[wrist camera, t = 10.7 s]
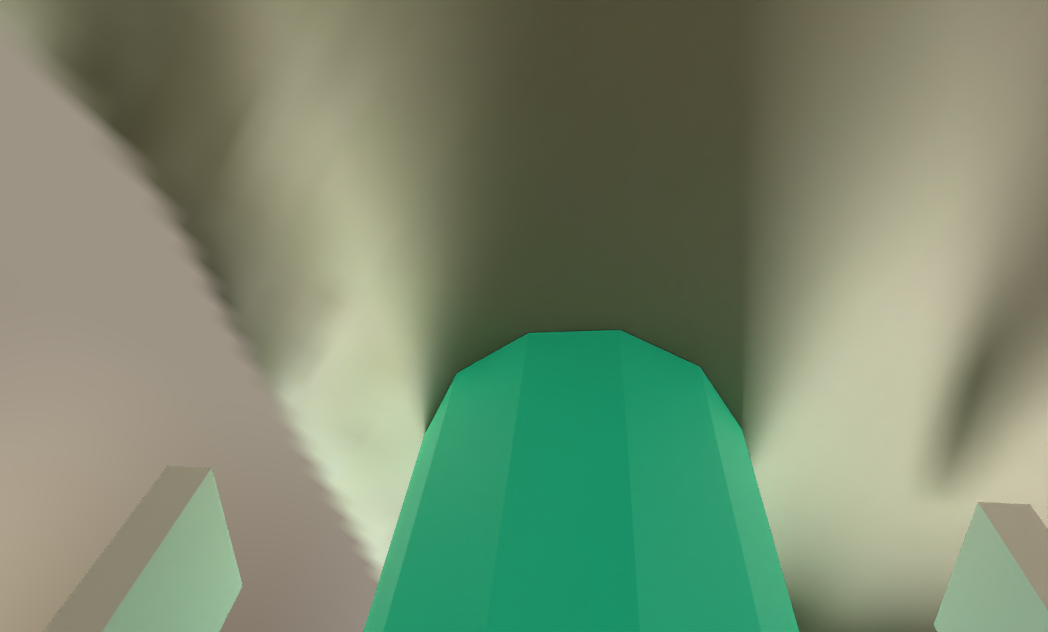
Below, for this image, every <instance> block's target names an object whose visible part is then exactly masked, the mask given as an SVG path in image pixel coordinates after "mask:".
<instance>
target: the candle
mask: <svg viewBox="0 0 1048 632" xmlns="http://www.w3.org/2000/svg"><path fill="white" fill-rule="evenodd" d="M363 632H799V629H798V626H797V622H796V619H795V615H794V612H793V608H792V604H791V601H790V597H789V594H788V590H787V587H786V583H785V580H784V576H783V573H782V569H781V566H780V562H779V559H778V555H777V551H776V548H775V544H774V541H773V537H772V534H771V530H770V527H769V523H768V520H767V516H766V513H765V509H764V506H763V502H762V498H761V495H760V491H759V488H758V484H757V481H756V477H755V474H754V470H753V467H752V463H751V460H750V456H749V453H748V449H747V445H746V442H745V438H744V435H743V431H742V428H741V427H740V426H739V424H738V423H737V421H736V420H735V418H734V417H733V415H732V414H731V412H730V411H729V409H728V408H727V406H726V405H725V403H724V402H723V400H722V399H721V397H720V396H719V394H718V393H717V391H716V390H715V388H714V387H713V385H712V384H711V382H710V381H709V379H708V378H707V377H706V375H705V374H704V372H703V371H702V369H701V368H700V366H697V365H695V364H693V363H691V362H689V361H686V360H684V359H682V358H680V357H678V356H676V355H673V354H671V353H669V352H667V351H665V350H663V349H660V348H658V347H656V346H654V345H652V344H650V343H647V342H645V341H643V340H641V339H639V338H637V337H634V336H632V335H630V334H628V333H626V332H624V331H621V330H601V331H569V332H537V333H527V334H525V335H524V336H522V337H520V338H518V339H517V340H515V341H513V342H511V343H509V344H508V345H506V346H504V347H502V348H500V349H499V350H497V351H495V352H493V353H492V354H490V355H488V356H486V357H484V358H483V359H481V360H479V361H477V362H475V363H474V364H472V365H470V366H468V367H467V368H465V369H463V370H461V371H459V372H458V373H456V375H455V377H454V379H453V381H452V383H451V385H450V387H449V389H448V391H447V393H446V395H445V396H444V398H443V400H442V402H441V404H440V406H439V408H438V410H437V412H436V414H435V416H434V418H433V420H432V421H431V423H430V425H429V427H428V429H427V431H426V433H425V435H424V438H423V442H422V445H421V448H420V451H419V454H418V458H417V461H416V464H415V467H414V470H413V474H412V477H411V480H410V483H409V487H408V490H407V493H406V496H405V499H404V503H403V506H402V509H401V512H400V515H399V519H398V522H397V525H396V528H395V531H394V535H393V538H392V541H391V544H390V548H389V551H388V554H387V557H386V560H385V564H384V567H383V570H382V573H381V576H380V580H379V583H378V586H377V589H376V593H375V596H374V599H373V602H372V606H371V609H370V612H369V616H368V618H367V622H366V625H365V628H364V631H363Z"/></svg>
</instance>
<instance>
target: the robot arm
mask: <svg viewBox="0 0 1048 632" xmlns="http://www.w3.org/2000/svg"><path fill="white" fill-rule="evenodd" d="M241 588H242V582H241V578H240V574H239V570H238V566H237V563H236V559H235V555H234V551H233V547H232V543H231V540H230V536H229V532H228V528H227V524H226V521H225V517H224V513H223V509H222V505H221V501H220V498H219V494H218V490H217V486H216V483H215V479H214V475H213V471H212V468H206V467H184V466H167V467H166V468H165V469H164V471H163V472H162V473H161V475H160V476H159V477H158V479H157V480H156V481H155V483H154V484H153V485H152V487H151V488H150V489H149V491H148V492H147V493H146V495H145V496H144V497H143V499H142V500H141V501H140V503H139V504H138V505H137V507H136V508H135V509H134V511H133V512H132V513H131V515H130V516H129V517H128V519H127V520H126V521H125V523H124V524H123V525H122V527H121V528H120V529H119V531H118V532H117V533H116V535H115V536H114V537H113V539H112V540H111V541H110V543H109V544H108V545H107V547H106V548H105V549H104V551H103V552H102V553H101V555H100V556H99V557H98V558H97V560H96V561H95V562H94V564H93V565H92V566H91V568H90V569H89V570H88V572H87V573H86V575H85V576H84V577H83V579H82V580H81V582H79V584H78V585H77V586H76V588H75V589H74V590H73V592H72V593H71V594H70V596H69V597H68V598H67V600H66V601H65V603H64V604H63V605H62V606H61V608H60V609H59V611H58V612H57V613H56V614H55V616H54V617H53V618H52V620H51V621H50V623H49V624H48V625H47V627H46V628H45V629H44V630H43V632H219V631H220V629H221V627H222V625H223V623H224V621H225V619H226V617H227V615H228V613H229V611H230V609H231V607H232V605H233V604H234V602H235V600H236V598H237V595H238V594H239V592H240V590H241ZM934 627H935V629H936V631H937V632H1048V529H1047V527H1046V526H1045V525H1044V523H1043V522H1042V520H1041V519H1040V518H1039V516H1038V515H1037V513H1036V512H1035V511H1034V509H1033V508H1032V507H1031V505H1029V504H1006V503H984V502H978V504H977V507H976V509H975V512H974V515H973V518H972V520H971V523H970V526H969V529H968V531H967V534H966V537H965V540H964V542H963V545H962V548H961V551H960V553H959V556H958V559H957V562H956V564H955V567H954V570H953V573H952V575H951V578H950V581H949V584H948V586H947V589H946V592H945V595H944V597H943V600H942V603H941V606H940V609H939V611H938V614H937V617H936V620H935V622H934Z"/></svg>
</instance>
